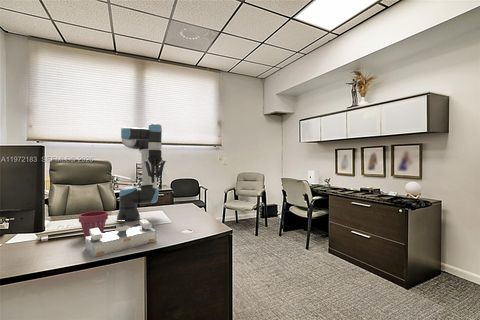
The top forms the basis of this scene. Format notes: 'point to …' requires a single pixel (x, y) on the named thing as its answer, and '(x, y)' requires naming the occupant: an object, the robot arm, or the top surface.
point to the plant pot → (93, 221)
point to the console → (119, 240)
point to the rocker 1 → (95, 234)
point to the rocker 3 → (145, 224)
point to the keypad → (139, 225)
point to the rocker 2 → (122, 228)
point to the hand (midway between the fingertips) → (154, 187)
